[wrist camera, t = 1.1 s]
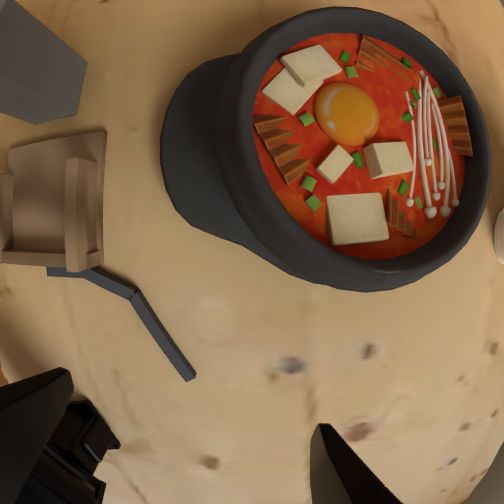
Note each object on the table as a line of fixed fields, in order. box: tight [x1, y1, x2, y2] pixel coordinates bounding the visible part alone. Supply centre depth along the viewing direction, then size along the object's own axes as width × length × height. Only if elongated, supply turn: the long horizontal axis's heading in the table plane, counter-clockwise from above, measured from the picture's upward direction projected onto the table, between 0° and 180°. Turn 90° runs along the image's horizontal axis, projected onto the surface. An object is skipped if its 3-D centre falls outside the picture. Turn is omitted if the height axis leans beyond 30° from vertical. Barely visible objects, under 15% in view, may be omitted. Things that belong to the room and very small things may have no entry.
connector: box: [0, 0, 87, 124], centre depth 12 cm, size 5×5×13 cm
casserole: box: [160, 7, 491, 293], centre depth 16 cm, size 25×19×8 cm
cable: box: [46, 266, 196, 382], centre depth 21 cm, size 4×15×1 cm, turn 54°
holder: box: [0, 131, 107, 272], centre depth 18 cm, size 10×11×4 cm
